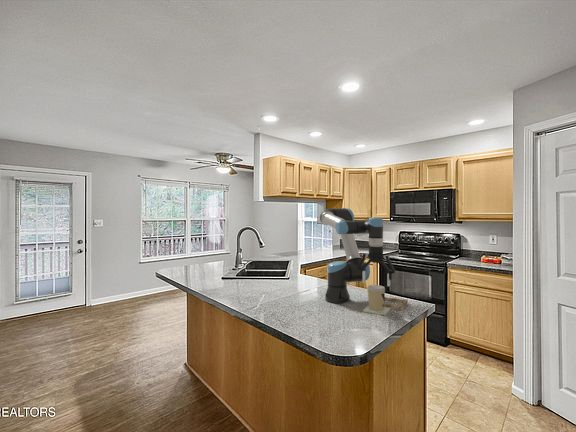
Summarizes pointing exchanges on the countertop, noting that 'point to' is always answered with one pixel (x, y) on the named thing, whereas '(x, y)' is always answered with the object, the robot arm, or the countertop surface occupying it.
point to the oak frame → (395, 301)
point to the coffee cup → (376, 297)
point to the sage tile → (383, 312)
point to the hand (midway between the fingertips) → (376, 284)
